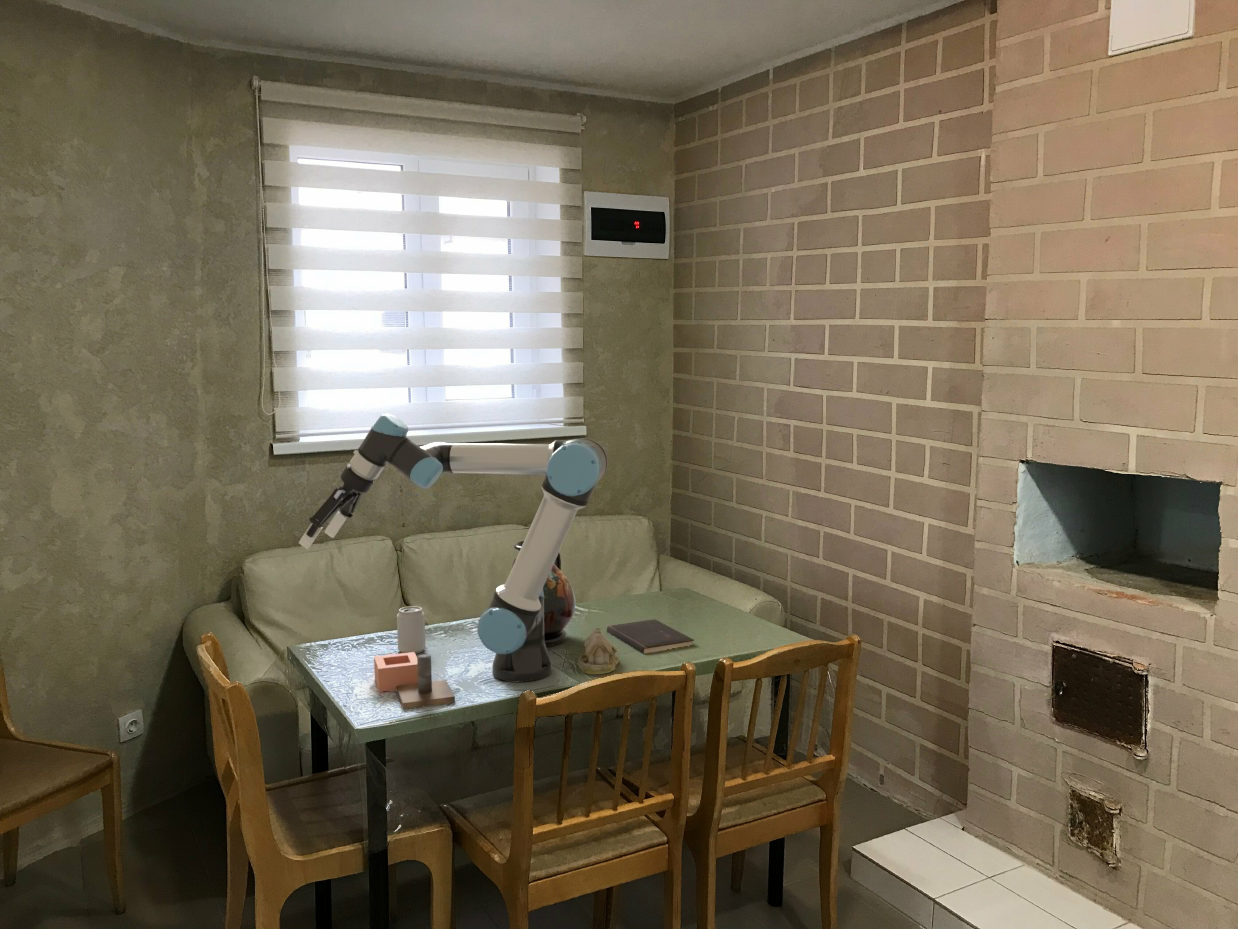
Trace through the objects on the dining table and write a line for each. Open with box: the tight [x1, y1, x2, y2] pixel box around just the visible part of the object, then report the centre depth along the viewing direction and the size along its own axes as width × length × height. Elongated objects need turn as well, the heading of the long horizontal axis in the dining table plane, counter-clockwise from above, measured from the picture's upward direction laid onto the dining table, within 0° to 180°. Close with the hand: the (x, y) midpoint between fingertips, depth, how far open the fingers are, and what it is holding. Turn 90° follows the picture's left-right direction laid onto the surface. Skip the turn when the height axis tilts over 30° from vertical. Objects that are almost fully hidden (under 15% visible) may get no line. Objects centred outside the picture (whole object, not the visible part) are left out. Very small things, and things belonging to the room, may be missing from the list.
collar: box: [373, 652, 418, 693], centre depth 240 cm, size 10×10×6 cm
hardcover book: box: [606, 618, 695, 655], centre depth 276 cm, size 16×23×2 cm
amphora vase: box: [504, 540, 576, 648], centre depth 274 cm, size 22×22×28 cm
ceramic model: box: [576, 627, 620, 675], centre depth 253 cm, size 14×11×10 cm
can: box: [396, 605, 427, 654], centre depth 266 cm, size 8×8×12 cm
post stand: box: [396, 654, 456, 710], centre depth 231 cm, size 12×12×10 cm
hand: (316, 540), depth 238 cm, fingers open, 13 cm apart
